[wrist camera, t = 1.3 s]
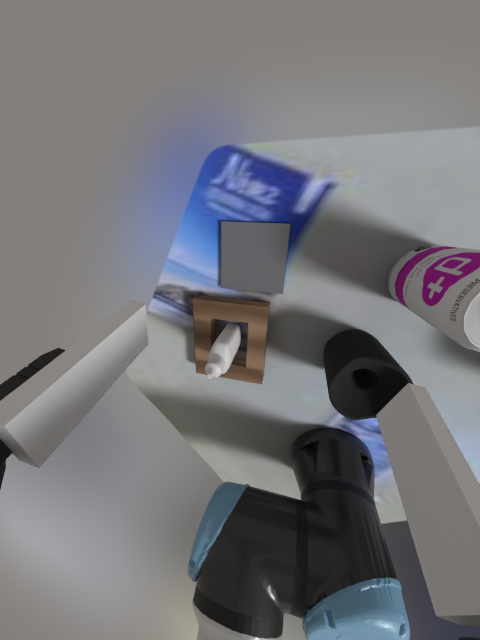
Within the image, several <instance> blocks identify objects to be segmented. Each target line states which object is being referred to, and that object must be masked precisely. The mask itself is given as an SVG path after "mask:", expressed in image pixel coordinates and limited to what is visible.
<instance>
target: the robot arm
mask: <svg viewBox="0 0 480 640" xmlns="http://www.w3.org/2000/svg"><path fill="white" fill-rule="evenodd" d="M147 345H148V334H147V321H146V308H145V304H143V303H139V302H136V301H133V300H131V301H130V302H128V303H127V304H126V305H124V306H123V307H122V308H120V309H119V310H118V311H117V312H115V313H114V314H113V315H111V316H110V317H109V318H107V319H106V320H105V321H104V322H102V323H101V324H100V325H98V326H97V327H96V328H94V329H93V330H92V331H91V332H89V333H88V334H87V335H85V336H84V337H83V338H81V339H80V340H79V341H78V342H76V343H75V344H74V345H72V346H71V347H70V348H69V349H67V350H63V349H60V348H57V349H55V350H53V351H50V352H48V353H46V354H44V355H41V356H40V357H39V358H37V359H36V360H34V361H33V362H32V363H30V364H29V365H28V367H25V368H23V369H22V370H20V371H19V372H18V373H17V374H16V375H15V376H14V375H13V376H12V377H11V378H9V379H8V380H7V381H5V382H4V383H2V384H1V385H0V489H1V484H2V480H3V476H4V472H5V468H6V459H7V458H8V457H9V456H10V455H11V454H12V453H13V454H14V455H15V456H16V457H17V458H18V459H19V460H20V461H22V462H25V463H28V464H30V465H33V466H36V467H38V468H40V466H41V465H42V464H43V463H44V462H45V461H46V460H47V458H48V457H49V456H50V455H51V454H52V453H53V452H54V451H55V449H56V448H57V447H58V446H59V445H60V444H61V443H62V441H63V440H64V439H65V438H66V437H67V436H68V434H69V433H70V432H71V431H72V430H73V429H74V427H76V425H77V424H78V423H79V422H80V421H81V420H82V419H83V418H84V416H85V415H86V414H87V413H88V412H89V411H90V410H91V408H92V407H93V406H94V405H95V404H96V403H97V401H98V400H99V399H100V398H101V397H102V396H103V395H104V393H105V392H106V391H107V390H108V389H109V388H110V387H111V386H112V385H113V383H114V382H115V381H116V380H117V379H118V377H120V375H121V374H122V373H123V372H124V371H125V370H126V369H127V367H128V366H129V365H130V364H131V363H132V362H133V361H134V359H135V358H136V357H137V356H138V355H139V354H140V353H141V352H142V350H143V349H144V348H145V347H146V346H147ZM376 417H377V420H378V423H379V427H380V430H381V433H382V437H383V440H384V443H385V447H386V450H387V453H388V457H389V460H390V463H391V467H392V470H393V473H394V477H395V480H396V484H397V487H398V490H399V494H400V497H401V500H402V504H403V507H404V510H405V514H406V517H407V520H408V523H409V527H410V530H411V534H412V537H413V540H414V544H415V547H416V550H417V554H418V557H419V560H420V564H421V567H422V571H423V574H424V577H425V581H426V584H427V587H428V591H429V594H430V597H431V601H432V604H433V607H434V611H435V614H436V616H438V617H440V618H443V619H446V620H448V621H451V622H454V623H456V624H459V625H462V626H480V484H479V483H478V481H477V479H476V477H475V476H474V474H473V472H472V470H471V468H470V467H469V465H468V463H467V461H466V459H465V458H464V456H463V454H462V452H461V451H460V449H459V447H458V445H457V443H456V442H455V440H454V438H453V436H452V435H451V433H450V431H449V429H448V427H447V426H446V424H445V422H444V420H443V418H442V417H441V415H440V413H439V411H438V410H437V408H436V406H435V404H434V402H433V401H432V399H431V397H430V395H429V393H428V392H427V390H426V388H424V387H421V386H417V385H414V384H411V383H408V384H407V385H406V386H405V387H404V388H403V389H402V390H401V391H400V392H399V393H398V394H397V395H396V396H395V397H394V398H393V399H392V400H391V401H390V402H389V403H388V404H387V405H386V406H385V407H384V408H383V409H382V410H381V411H380V412H379V413H378V414H377V415H376ZM291 461H292V467H293V470H294V473H295V477H296V480H297V483H298V486H299V489H300V492H301V500H298V499H295V498H291V497H287V496H284V495H280V494H276V493H273V492H269V491H265V490H262V489H258V488H254V487H251V486H249V485H248V484H246V485H242V484H237V483H232V482H224V483H222V484H221V485H220V486H219V487H218V488H217V489H216V491H215V492H214V494H213V496H212V498H211V500H210V502H209V504H208V506H207V508H206V511H205V513H204V516H203V518H202V521H201V523H200V526H199V529H198V532H197V535H196V538H195V541H194V544H193V548H192V551H191V558H190V562H189V565H188V575H189V577H190V578H192V581H194V582H196V581H197V585H196V589H195V594H194V598H193V603H192V604H193V608H194V612H195V614H196V618H197V621H198V624H199V632H198V636H197V640H281V638H282V629H283V615H284V613H287V614H291V615H294V616H297V617H300V618H302V619H303V629H304V632H305V637H306V639H307V640H409V637H410V628H409V623H408V618H407V614H406V610H405V606H404V602H403V598H402V594H401V585H400V582H399V581H398V579H397V576H396V573H395V569H394V566H393V562H392V560H391V556H390V553H389V549H388V546H387V543H386V539H385V536H384V533H383V529H382V526H381V523H380V519H379V516H378V513H377V509H376V506H375V502H374V478H375V468H374V463H373V460H372V457H371V454H370V451H369V449H368V448H367V446H366V445H365V444H364V443H363V442H362V441H361V440H360V439H358V438H357V437H355V436H353V435H351V434H349V433H347V432H344V431H340V430H336V429H316V430H312V431H309V432H306V433H304V434H302V435H301V436H300V437H298V438H297V439H296V441H295V442H294V444H293V446H292V453H291ZM459 640H480V637H460V638H459Z"/></svg>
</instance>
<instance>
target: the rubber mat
mask: <svg viewBox="0 0 480 640" xmlns="http://www.w3.org/2000/svg"><path fill="white" fill-rule="evenodd" d="M290 225H291V224H283V223H255V222H227V221H221V288H227V289H238V290H248V291H259V292H269V293H280V294H283V287H284V278H285V269H286V260H287V252H288V243H289V234H290Z"/></svg>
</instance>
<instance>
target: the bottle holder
mask: <svg viewBox="0 0 480 640" xmlns="http://www.w3.org/2000/svg"><path fill="white" fill-rule="evenodd" d="M269 312H270V302H261V301H251V300H242V299H232V298H222V297H213V296H203V295H198V296H197V297H195V298H194V299H193V316H194V338H195V360H196V373H200V374H206V375H207V373H206V372H205V366H206V364H207V363H208V361H209V354H210V351H211V348H212V346H213V344H214V342H215V319H220V320H228V321H236V322H244V323H248V340H247V358H246V359H241V358H235V357H234V359H233V361H232V363H231V365H230V367H229V369H228V370H227V372H226V373H224V374H221V375H220V376H219V377H223V378H229V379H235V380H241V381H246V382H252V383H258V384H262V381H263V376H264V366H265V355H266V344H267V334H268V323H269Z"/></svg>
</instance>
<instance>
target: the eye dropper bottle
mask: <svg viewBox="0 0 480 640" xmlns="http://www.w3.org/2000/svg"><path fill="white" fill-rule="evenodd" d="M241 337H242V335H241V329H240V326H239V325H236V324H231V323H228V324H227V325H226V327H225V328H224V329H223V331H222V332H221V334H220V335H219V337H218V338H217V339H216V341H215V342H214V344H213V346H212V348H211V351H210V354H209V361H208V363H207V364H206V366H205V372H206V373H207V377H208V378H209V379H211V378H212V377H213V378H216V377H219V376H220V375H221V374H224V373H226V372H227V370H228V369H229V367H230V365H231V363H232V361H233V359H234V357H235V354H236V352H237V350H238V348H239V346H240V343H241Z"/></svg>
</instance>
